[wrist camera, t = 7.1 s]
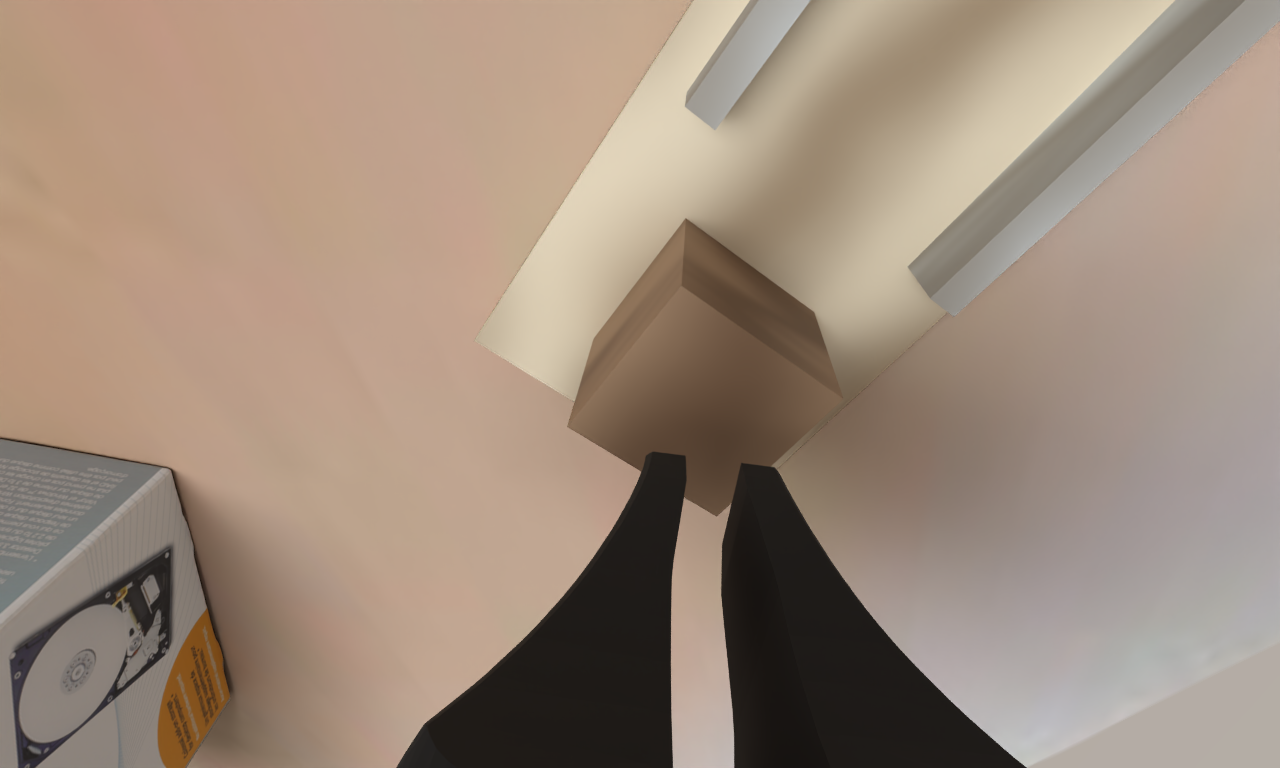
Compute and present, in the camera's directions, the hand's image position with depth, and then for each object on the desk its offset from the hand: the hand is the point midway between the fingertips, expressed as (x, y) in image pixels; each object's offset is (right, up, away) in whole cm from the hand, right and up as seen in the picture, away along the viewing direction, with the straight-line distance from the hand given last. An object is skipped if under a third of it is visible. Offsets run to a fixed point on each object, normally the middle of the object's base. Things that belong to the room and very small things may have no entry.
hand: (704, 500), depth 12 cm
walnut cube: (0, +4, +6) cm, 7 cm away
